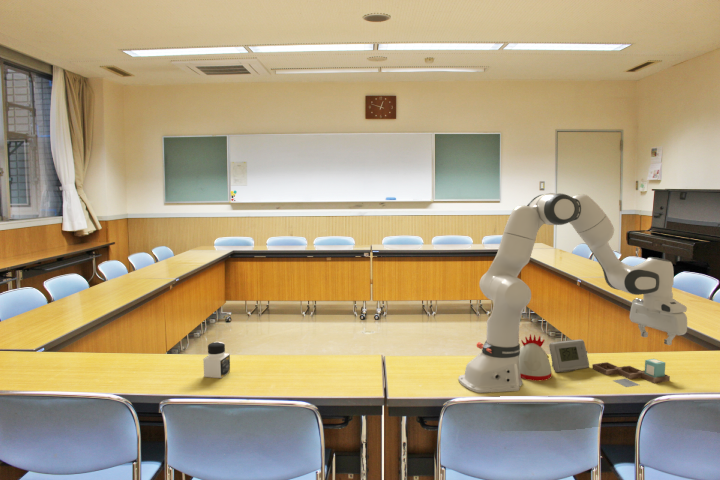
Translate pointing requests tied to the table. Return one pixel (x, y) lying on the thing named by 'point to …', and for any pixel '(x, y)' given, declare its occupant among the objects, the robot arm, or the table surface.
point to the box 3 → (655, 380)
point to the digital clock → (568, 355)
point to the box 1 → (606, 368)
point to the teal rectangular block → (654, 368)
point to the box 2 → (629, 372)
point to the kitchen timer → (534, 360)
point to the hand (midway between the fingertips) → (655, 340)
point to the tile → (626, 382)
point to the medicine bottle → (216, 361)
